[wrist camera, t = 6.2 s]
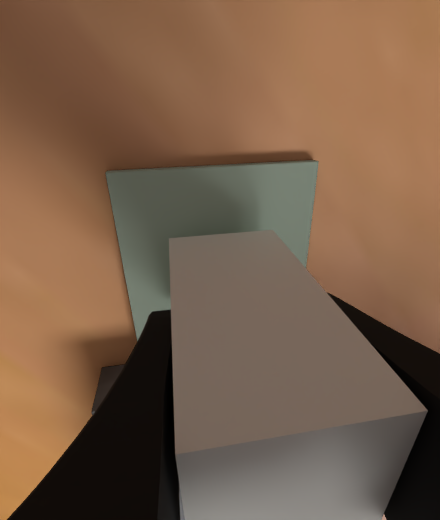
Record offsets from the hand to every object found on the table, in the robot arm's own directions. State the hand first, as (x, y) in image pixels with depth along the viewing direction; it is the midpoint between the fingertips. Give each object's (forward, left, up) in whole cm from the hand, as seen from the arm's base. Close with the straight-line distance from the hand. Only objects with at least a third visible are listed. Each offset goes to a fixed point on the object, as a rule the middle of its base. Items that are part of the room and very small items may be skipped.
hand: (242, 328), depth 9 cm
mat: (0, 0, -5) cm, 5 cm away
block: (0, 0, -3) cm, 4 cm away
